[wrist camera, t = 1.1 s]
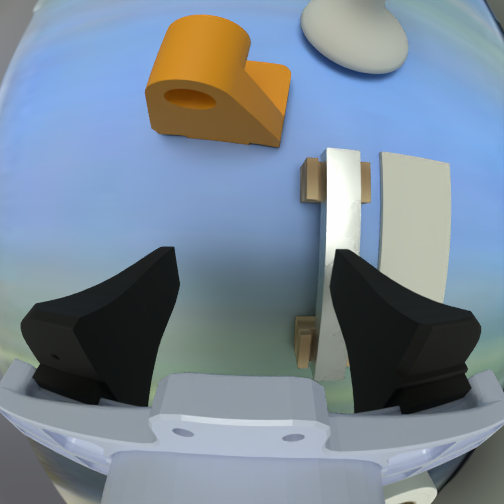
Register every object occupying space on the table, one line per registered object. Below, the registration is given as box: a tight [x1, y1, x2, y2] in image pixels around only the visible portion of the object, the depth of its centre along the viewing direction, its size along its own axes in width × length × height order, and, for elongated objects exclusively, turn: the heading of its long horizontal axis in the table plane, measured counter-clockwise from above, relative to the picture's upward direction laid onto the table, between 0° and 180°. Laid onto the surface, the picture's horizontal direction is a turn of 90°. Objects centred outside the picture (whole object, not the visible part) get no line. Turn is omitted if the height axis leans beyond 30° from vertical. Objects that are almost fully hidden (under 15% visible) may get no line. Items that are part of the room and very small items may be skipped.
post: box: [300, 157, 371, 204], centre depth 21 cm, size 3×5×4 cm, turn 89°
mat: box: [378, 152, 451, 304], centre depth 23 cm, size 20×8×1 cm, turn 179°
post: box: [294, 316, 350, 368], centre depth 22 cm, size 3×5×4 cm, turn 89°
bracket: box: [145, 15, 291, 147], centre depth 17 cm, size 11×7×12 cm, turn 80°
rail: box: [310, 148, 361, 381], centre depth 19 cm, size 17×2×2 cm, turn 179°
